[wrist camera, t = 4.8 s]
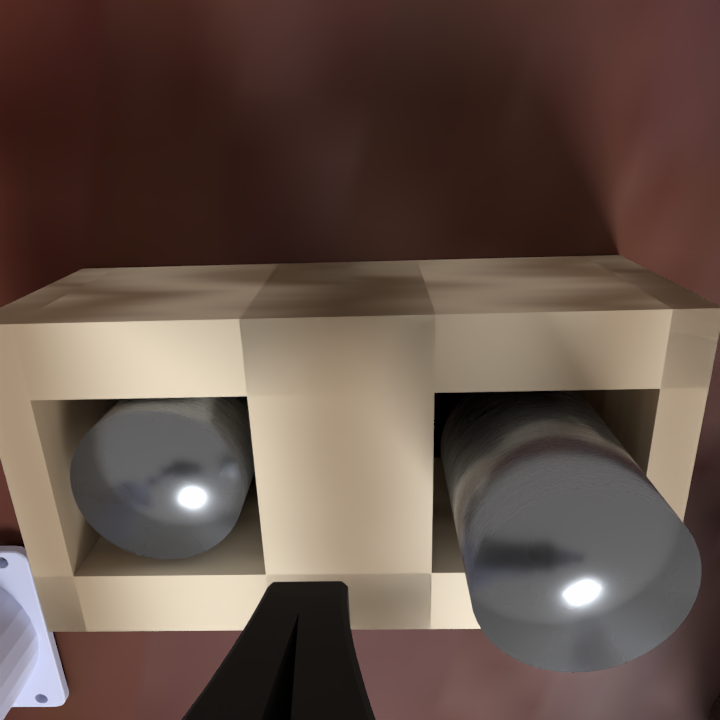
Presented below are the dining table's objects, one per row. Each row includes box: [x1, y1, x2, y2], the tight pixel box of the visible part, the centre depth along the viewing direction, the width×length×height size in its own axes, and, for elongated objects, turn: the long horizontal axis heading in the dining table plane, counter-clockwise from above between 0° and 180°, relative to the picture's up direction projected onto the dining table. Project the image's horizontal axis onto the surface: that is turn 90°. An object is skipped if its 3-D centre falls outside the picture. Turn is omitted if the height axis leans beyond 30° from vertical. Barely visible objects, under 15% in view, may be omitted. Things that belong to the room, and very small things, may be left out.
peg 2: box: [440, 390, 702, 672], centre depth 14 cm, size 4×4×6 cm
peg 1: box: [70, 396, 255, 559], centre depth 18 cm, size 4×4×6 cm
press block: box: [0, 255, 720, 632], centre depth 18 cm, size 17×9×6 cm, turn 92°
